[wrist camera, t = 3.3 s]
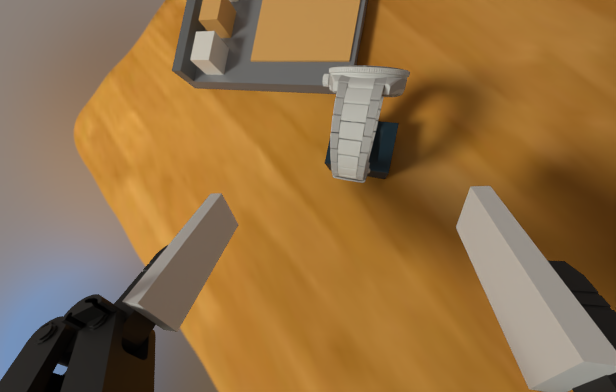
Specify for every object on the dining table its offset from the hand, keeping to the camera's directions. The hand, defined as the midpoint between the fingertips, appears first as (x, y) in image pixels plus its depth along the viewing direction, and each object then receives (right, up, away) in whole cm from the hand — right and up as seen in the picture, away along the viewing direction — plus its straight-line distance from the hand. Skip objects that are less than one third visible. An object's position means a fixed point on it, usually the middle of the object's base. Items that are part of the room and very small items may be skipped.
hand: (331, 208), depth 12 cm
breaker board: (-5, +20, +13) cm, 24 cm away
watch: (+4, +5, +10) cm, 12 cm away
